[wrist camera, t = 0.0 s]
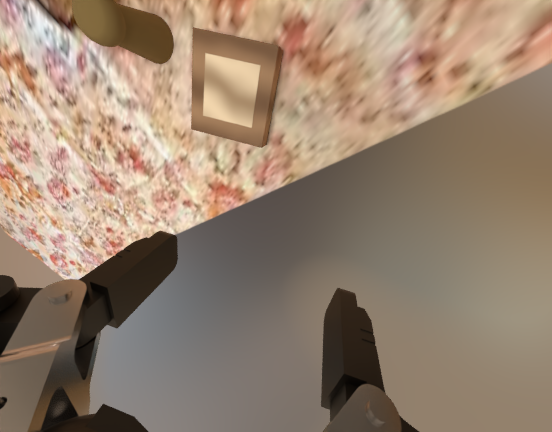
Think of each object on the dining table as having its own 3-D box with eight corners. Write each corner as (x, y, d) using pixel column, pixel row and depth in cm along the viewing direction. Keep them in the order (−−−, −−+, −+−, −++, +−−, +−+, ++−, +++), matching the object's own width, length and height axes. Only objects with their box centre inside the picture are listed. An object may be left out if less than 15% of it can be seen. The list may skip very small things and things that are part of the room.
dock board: (204, 34, 32) (192, 27, 29) (283, 51, 30) (278, 45, 28) (200, 127, 38) (190, 129, 35) (266, 144, 37) (261, 147, 34)
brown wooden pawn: (177, 61, 34) (118, 44, 25) (145, 65, 35) (76, 50, 26) (167, 11, 31) (96, -31, 22) (132, 17, 33) (50, -20, 23)
